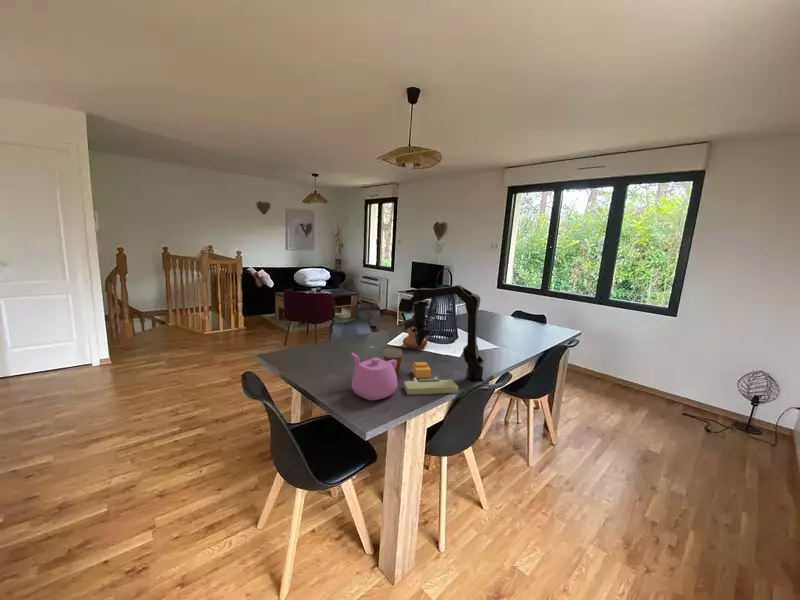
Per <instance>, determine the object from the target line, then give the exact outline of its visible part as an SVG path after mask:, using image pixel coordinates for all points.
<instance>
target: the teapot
mask: <svg viewBox="0 0 800 600" xmlns="http://www.w3.org/2000/svg"><path fill="white" fill-rule="evenodd" d="M351 356H352V357H353V359H354V373H353V376H352V380H351V389H352V392H353V393H354V394H355V395H357V396H358V397H360V398H362V399H364V400H365V399H366V400H368V401H379V400H381V399H385V398H388V397H390V396H392V395H393V394H394V393H395V392H396V390H397V388H398V376H396V372H395V368H396V365H397V361H396V360H394V359H393V360H389V361H385V360H384V359H380V358H379V357H372V358H370V359H366V360H364V361H362V362H361V359H360V357H359V356H358V354H357V353H355V352H351Z"/></svg>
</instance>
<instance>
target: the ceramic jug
mask: <svg viewBox="0 0 800 600" xmlns="http://www.w3.org/2000/svg"><path fill="white" fill-rule="evenodd" d="M425 325H426V327H423V328H427V324H426V323H425ZM411 329H413V327H411V328H408V329H407V330H406V332H407V336H406V337H404V338H403V340H402V344H403V345H404V346H405V347H406V348H409V349H412V350H413V349H415V350H416V349H417V350H419V349H423V348H425V347H426V346H427V345H428V341H429V336H430V335H429V336H425V338H424V340H423V342H422V344H421V345H420V346H418V344H416V339H415V334H414V332H413V331H412V330H411Z"/></svg>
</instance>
